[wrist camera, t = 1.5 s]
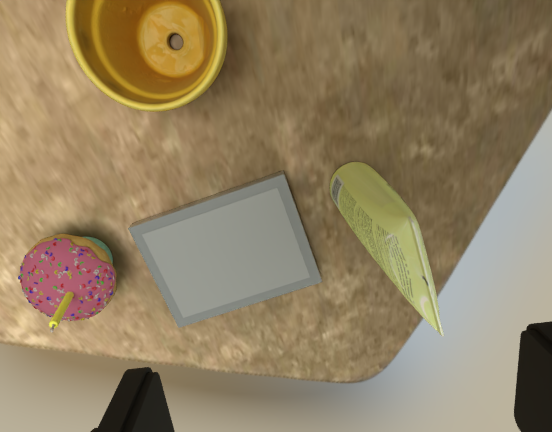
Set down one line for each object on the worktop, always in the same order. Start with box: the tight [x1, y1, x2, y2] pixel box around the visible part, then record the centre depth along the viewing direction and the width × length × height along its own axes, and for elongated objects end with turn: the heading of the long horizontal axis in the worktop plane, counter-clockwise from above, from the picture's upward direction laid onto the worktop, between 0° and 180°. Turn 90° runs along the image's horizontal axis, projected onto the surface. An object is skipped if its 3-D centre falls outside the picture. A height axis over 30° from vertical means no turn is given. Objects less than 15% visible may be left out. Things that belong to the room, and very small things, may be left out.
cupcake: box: [18, 234, 117, 332], centre depth 37 cm, size 9×8×12 cm
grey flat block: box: [128, 171, 322, 327], centre depth 41 cm, size 16×12×2 cm
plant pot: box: [66, 0, 227, 112], centre depth 31 cm, size 10×10×10 cm
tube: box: [329, 162, 444, 336], centre depth 31 cm, size 6×5×20 cm
